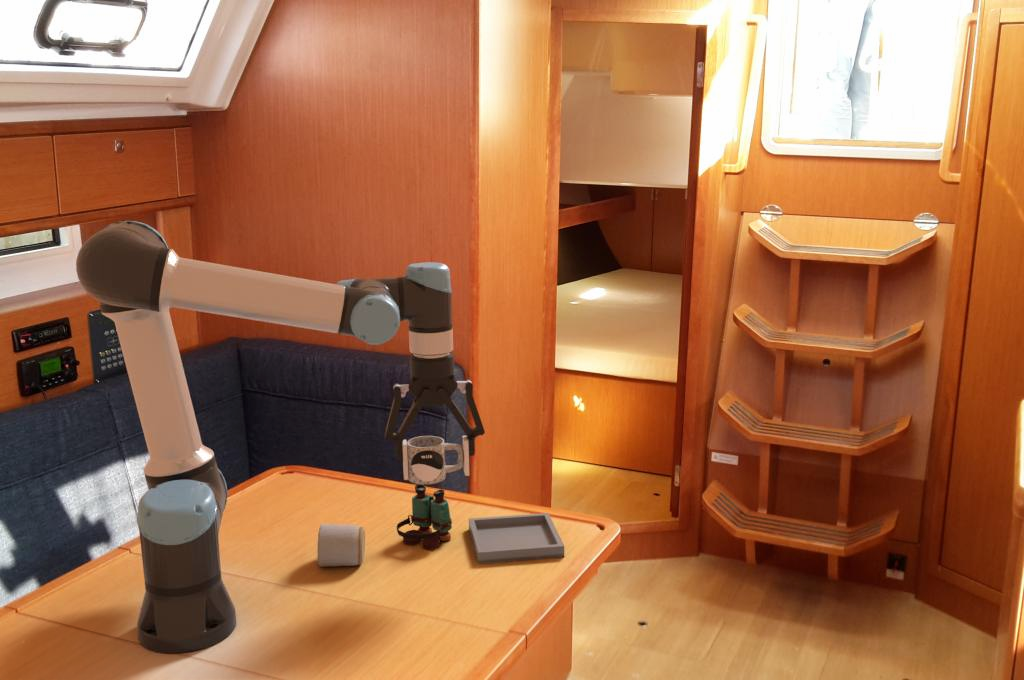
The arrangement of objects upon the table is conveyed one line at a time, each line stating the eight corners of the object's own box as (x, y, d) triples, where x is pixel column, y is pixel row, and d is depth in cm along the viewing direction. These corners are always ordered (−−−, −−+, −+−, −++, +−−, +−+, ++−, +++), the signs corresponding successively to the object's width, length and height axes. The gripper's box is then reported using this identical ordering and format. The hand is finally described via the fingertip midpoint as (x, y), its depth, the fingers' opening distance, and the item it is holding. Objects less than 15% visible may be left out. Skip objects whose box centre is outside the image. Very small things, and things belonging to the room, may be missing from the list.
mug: (410, 486, 178) (408, 449, 177) (406, 473, 184) (404, 437, 183) (467, 480, 180) (466, 444, 178) (461, 468, 186) (460, 432, 185)
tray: (478, 563, 188) (478, 552, 188) (468, 529, 204) (468, 518, 203) (564, 557, 191) (564, 545, 190) (548, 523, 206) (548, 512, 206)
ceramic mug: (363, 571, 186) (361, 531, 184) (317, 573, 185) (315, 533, 184) (367, 548, 196) (365, 510, 195) (324, 549, 196) (322, 511, 194)
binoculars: (386, 500, 193) (418, 478, 201) (392, 550, 197) (423, 527, 205) (424, 509, 189) (455, 487, 197) (430, 560, 192) (460, 536, 200)
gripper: (494, 344, 182) (497, 463, 187) (365, 351, 179) (371, 472, 184) (499, 354, 175) (502, 478, 180) (365, 361, 172) (372, 487, 177)
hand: (436, 475), depth 182 cm, fingers closed on mug, 10 cm apart
